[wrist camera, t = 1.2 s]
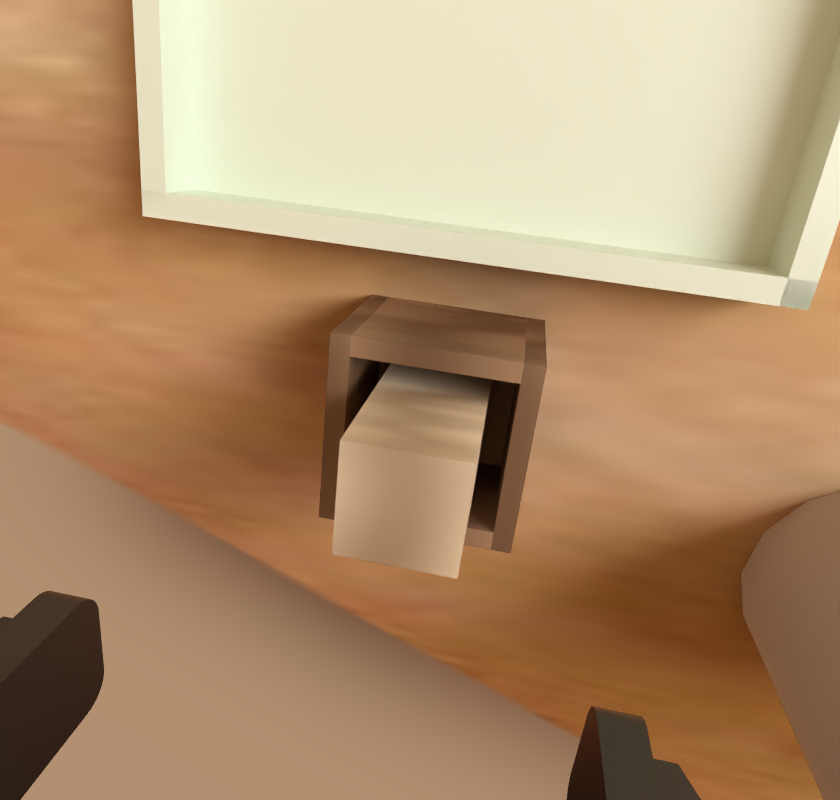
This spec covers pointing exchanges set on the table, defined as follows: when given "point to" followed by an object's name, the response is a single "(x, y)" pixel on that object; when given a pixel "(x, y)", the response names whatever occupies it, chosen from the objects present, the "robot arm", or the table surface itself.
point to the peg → (411, 470)
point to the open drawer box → (455, 353)
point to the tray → (508, 132)
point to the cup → (802, 627)
